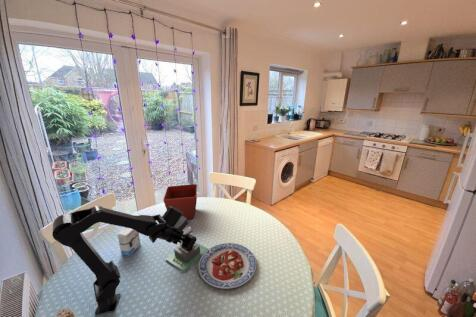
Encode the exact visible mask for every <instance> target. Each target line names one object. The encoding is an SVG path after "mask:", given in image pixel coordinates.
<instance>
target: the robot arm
mask: <svg viewBox="0 0 476 317" xmlns="http://www.w3.org/2000/svg"><path fill="white" fill-rule="evenodd" d="M182 215H183V213H182V212H181V211H180V210H178V209H177V208H175V207H171V206H169V207H168V209H166V211H165V212H164V214H162V215H161V214H156V215H155V214H154V215H147V214H146V215H145V214H140V215H133V214H130V213H125V212H122V211H117V210H115V209H114V210H113V209H110V208H105V207H103V206H100V205H95V206H92V207H89V208H85V209H79V210H76V211H73V212H71V213H65V214H62V215H59V216H57V217H56V218H55V219H54V221H53V223H52V238H53V239H54V240H55V241H56V242H58V243H59V244H61V245H63V246H65V247H68V248H71V250H72V251H74V253H75V254H76V256H78V257H79V259H81V261H82V262H83V263H84V264H85V266H87V268H89V270H90V271H91V272H92V273H93V274H94V275H95V278H96V279H95V281H94V282H93V284H92V286H93V291H94V298H95V302H96V304H97V307H96V309H95V311H94V314H95V315H98V314H104V313H109V312H114V311H115V310H116V308H117V306H118V303H119V300H120V298H121V293H116V292H117V288H118V286H119V285H120V283H121V279H120V278H122V277H121V274H120V271H119V268H118V265H117V264H114V261H113V260H111V261H109V262H106V261H105V260H104V259H103V258H102V256H101V255H100V254H99V253H98V251H96V250H97V249H95V248H94V246H93V245H92V244H91V243H90V242H89V240H88V239H87V238H86V236H84V234H83V232H85V231H86V230H88V229H91V227H92V226H94V225H96V224H98V223H103V224H108V225H113V226H117V227H121V228H125V227H126V228H131V229H134V230H135V231H137V232H139V235H140V234H141V235H143V236H146V237H148V239H149V240H150V241H151V242H152V244H154V243H155V242H156V241H157V240H158V239H159V240H163V241H166V243H167V242H168V243H173V244H174V245H178V243H179V244H180V243H181V240H182V245H181V247H182V249H184V250H186V251H188V252H191V250H192V248H193V246H194V244H195V242H196V243H197V237H196V236H195V235H193V236H192V235H190V234H188V233H187V235H186V234H184V235H183V233H184V231H182V230H183V229H184V228H185V227H188V225H189V223H190V222H189V219H186V218H185V217H183V216H182ZM182 237H183V238H182Z"/></svg>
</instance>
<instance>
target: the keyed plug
mask: <svg viewBox="0 0 476 317" xmlns="http://www.w3.org/2000/svg"><path fill="white" fill-rule="evenodd" d="M182 231H184V233H183V235H184V234H186V235H187V233H188V234H190V235H192V236H194V232H193V229H192V227H191V226H186V227H185V228H184V229H183V230H182ZM182 238H183V237H182ZM181 245H182V240H181V243H179V246H180V250H181V251H182V252H184V253H186V254H187V253H189V252H188V251H186V250H184V249H182V247H181ZM192 249H194V246H193V248H192Z"/></svg>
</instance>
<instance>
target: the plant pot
mask: <svg viewBox="0 0 476 317" xmlns="http://www.w3.org/2000/svg"><path fill="white" fill-rule="evenodd" d="M197 197H198V184H197V183H196V184H193V183H192V184H191V183H190V184H180V185H169V186H167V188H166V191H165V194H164V196H163V199H162V200H163V203H164V206H165V208H166V210H167V209H168V207H169V206H171V207H175V208H177V209H178V210H180V211H181V212H182V213H183V215H182V216H183V217H185V218H186V219H187V220H193V219H194V217H195V215H196V214H195V213H196V209H197V201H198V200H197V199H198V198H197Z"/></svg>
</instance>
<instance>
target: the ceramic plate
mask: <svg viewBox="0 0 476 317" xmlns="http://www.w3.org/2000/svg"><path fill="white" fill-rule="evenodd" d="M256 268H257V260H256V257H255V255H254V253H253V252H252V251H251V250H250V249H249V248H248V247H246V246H244V245H243V244H239V243H234V242H224V243H219V244H216V245H213V246H212V247H209V248H208V250H207V251H206V252H205V253H204V254H203V255H202V257H200V258H199V262H198V272H199V275H200V277H201V279H203V281H204V282H205V283H207V284H208V285H210V286H211V287H214V288H218V289H224V290H225V289H234V288H238V287H240V286H243V285H245V284H246V283H248V281H249V280H251V279H252V277H253V276H254V274H255V273H256Z"/></svg>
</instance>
